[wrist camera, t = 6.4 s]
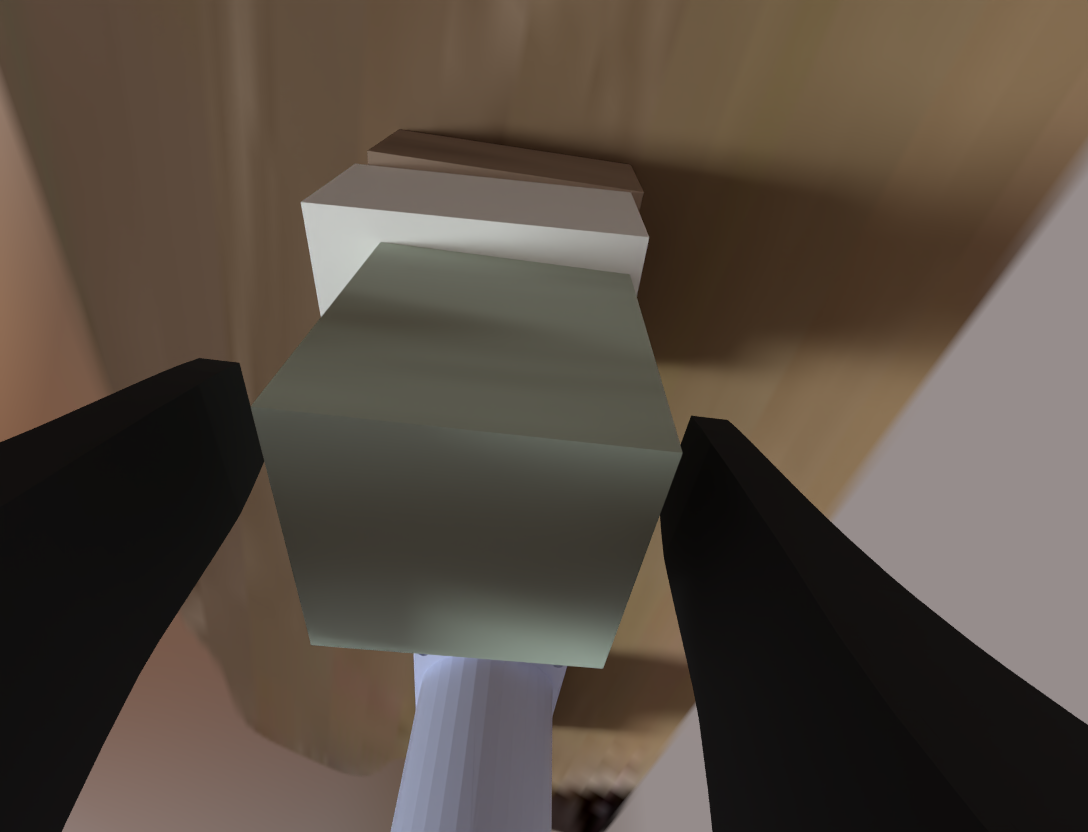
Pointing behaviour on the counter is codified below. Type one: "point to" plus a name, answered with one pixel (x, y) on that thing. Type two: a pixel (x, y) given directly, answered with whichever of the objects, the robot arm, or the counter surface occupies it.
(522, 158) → the base slab
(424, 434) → the green block
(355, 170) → the top slab
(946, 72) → the counter surface
